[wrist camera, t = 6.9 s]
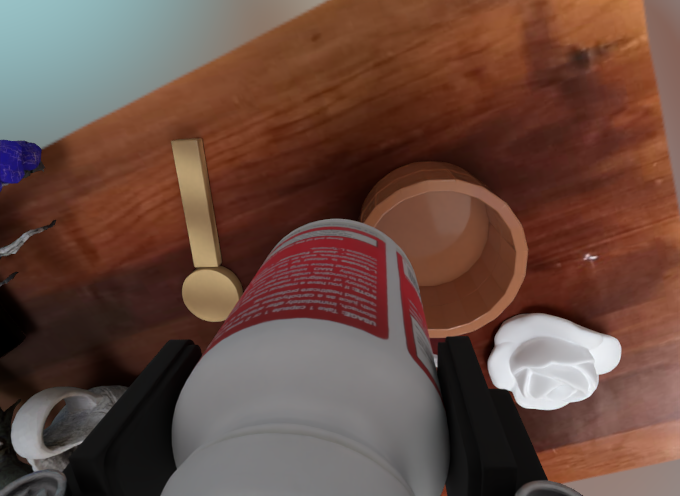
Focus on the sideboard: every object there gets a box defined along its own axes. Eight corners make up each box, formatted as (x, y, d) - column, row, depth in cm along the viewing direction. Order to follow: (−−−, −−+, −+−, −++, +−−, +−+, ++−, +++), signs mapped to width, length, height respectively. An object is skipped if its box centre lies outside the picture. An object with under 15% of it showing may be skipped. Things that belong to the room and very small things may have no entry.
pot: (355, 163, 30) (349, 182, 24) (501, 157, 29) (537, 176, 23) (360, 291, 34) (355, 338, 27) (490, 290, 33) (518, 338, 26)
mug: (111, 454, 43) (36, 555, 33) (46, 355, 39) (-60, 438, 29) (193, 436, 41) (137, 538, 31) (132, 331, 37) (49, 411, 28)
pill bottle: (234, 291, 17) (12, 597, 7) (329, 180, 15) (223, 369, 5) (348, 378, 18) (307, 760, 8) (451, 285, 16) (582, 630, 6)
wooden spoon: (158, 140, 31) (150, 141, 30) (220, 137, 30) (214, 138, 29) (193, 314, 36) (187, 321, 35) (246, 314, 36) (242, 321, 34)
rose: (629, 312, 28) (654, 420, 31) (596, 284, 32) (621, 381, 35) (483, 355, 30) (519, 452, 33) (470, 323, 34) (503, 412, 37)
